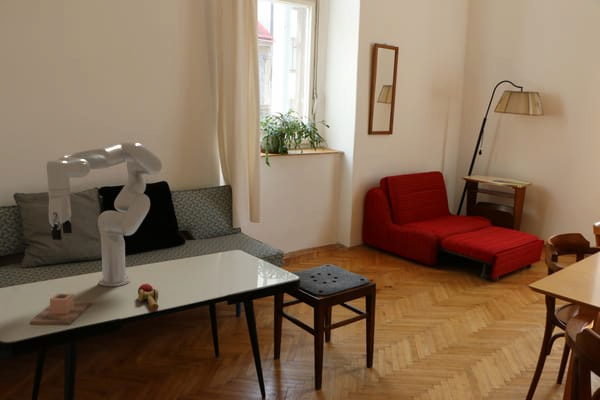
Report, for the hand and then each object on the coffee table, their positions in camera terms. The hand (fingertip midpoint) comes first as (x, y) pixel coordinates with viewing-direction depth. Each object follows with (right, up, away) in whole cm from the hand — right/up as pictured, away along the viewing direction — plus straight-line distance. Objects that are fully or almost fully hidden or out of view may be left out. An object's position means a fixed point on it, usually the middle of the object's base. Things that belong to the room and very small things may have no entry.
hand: (62, 236), depth 204 cm
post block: (+4, -28, -9) cm, 30 cm away
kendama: (+33, -27, +3) cm, 42 cm away
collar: (+4, -27, -9) cm, 29 cm away
